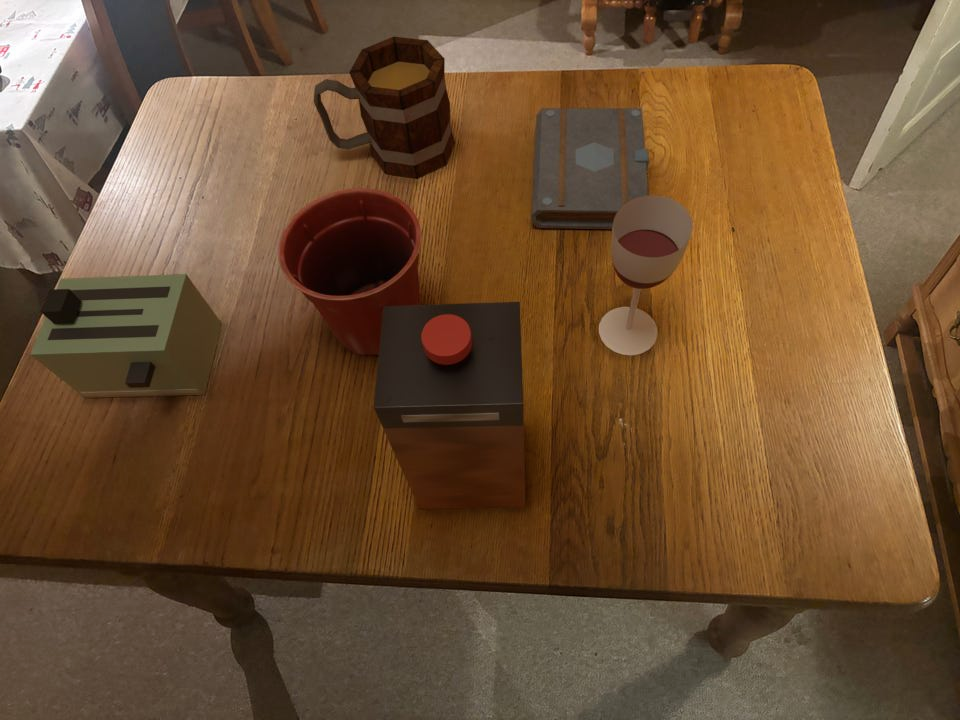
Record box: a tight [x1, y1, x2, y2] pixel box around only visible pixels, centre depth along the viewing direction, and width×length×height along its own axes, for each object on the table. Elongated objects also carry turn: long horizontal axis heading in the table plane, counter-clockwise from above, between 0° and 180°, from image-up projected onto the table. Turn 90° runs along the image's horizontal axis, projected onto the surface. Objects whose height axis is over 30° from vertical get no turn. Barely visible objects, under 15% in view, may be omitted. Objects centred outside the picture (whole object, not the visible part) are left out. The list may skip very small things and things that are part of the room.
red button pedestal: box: [373, 301, 526, 510], centre depth 66 cm, size 12×10×26 cm
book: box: [530, 107, 650, 230], centre depth 98 cm, size 21×16×5 cm
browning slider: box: [40, 288, 82, 324], centre depth 77 cm, size 2×3×3 cm
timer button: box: [421, 314, 472, 365], centre depth 53 cm, size 4×4×1 cm
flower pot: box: [277, 187, 423, 356], centre depth 82 cm, size 16×16×16 cm
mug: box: [313, 36, 456, 180], centre depth 99 cm, size 20×14×15 cm
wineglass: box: [598, 194, 694, 356], centre depth 77 cm, size 8×9×20 cm
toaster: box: [29, 273, 223, 399], centre depth 82 cm, size 16×14×11 cm
